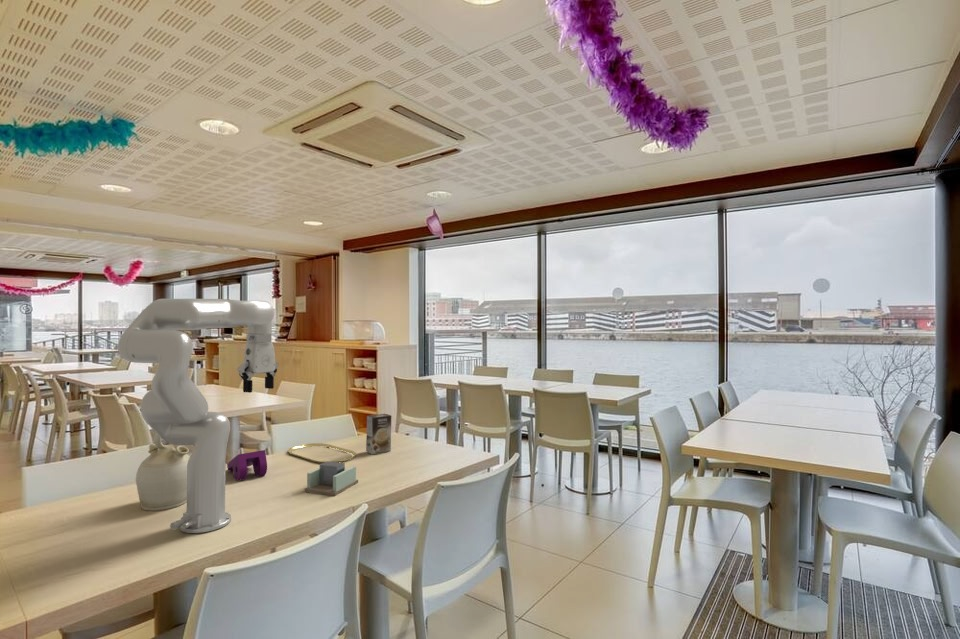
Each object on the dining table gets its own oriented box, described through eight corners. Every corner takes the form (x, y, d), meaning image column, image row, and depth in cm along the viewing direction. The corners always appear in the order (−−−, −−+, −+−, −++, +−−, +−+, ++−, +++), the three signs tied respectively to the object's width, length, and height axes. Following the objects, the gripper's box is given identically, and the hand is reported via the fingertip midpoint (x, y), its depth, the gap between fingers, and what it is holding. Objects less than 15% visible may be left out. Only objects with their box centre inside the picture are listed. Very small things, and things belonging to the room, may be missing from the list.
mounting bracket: (226, 488, 183) (241, 478, 171) (223, 466, 185) (237, 454, 174) (252, 482, 189) (268, 472, 178) (249, 461, 192) (265, 449, 180)
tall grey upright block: (336, 487, 165) (337, 466, 165) (319, 485, 167) (319, 464, 167) (344, 483, 169) (344, 463, 169) (327, 481, 171) (327, 461, 171)
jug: (203, 501, 154) (204, 422, 154) (148, 517, 141) (149, 431, 141) (180, 491, 162) (181, 417, 162) (126, 505, 150) (127, 425, 150)
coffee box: (372, 455, 209) (372, 417, 209) (365, 451, 214) (366, 415, 214) (391, 451, 215) (391, 415, 215) (384, 448, 220) (384, 413, 220)
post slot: (334, 495, 159) (335, 477, 159) (304, 491, 163) (304, 473, 163) (358, 482, 173) (358, 465, 173) (329, 479, 176) (329, 462, 176)
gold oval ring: (326, 468, 191) (326, 464, 191) (279, 452, 212) (279, 449, 212) (364, 457, 206) (365, 454, 206) (317, 444, 227) (317, 441, 227)
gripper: (248, 340, 153) (248, 394, 152) (286, 338, 169) (285, 387, 169) (229, 339, 155) (229, 393, 155) (268, 338, 171) (268, 386, 171)
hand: (258, 390), depth 162 cm, fingers open, 9 cm apart
